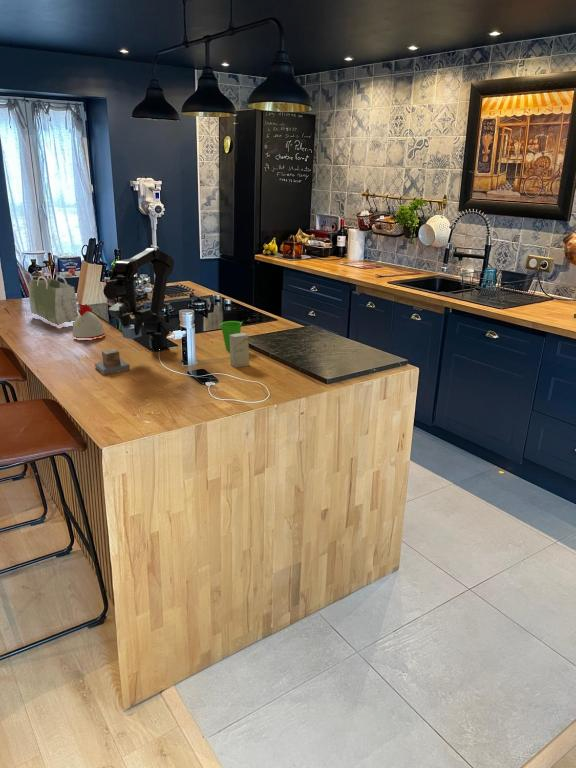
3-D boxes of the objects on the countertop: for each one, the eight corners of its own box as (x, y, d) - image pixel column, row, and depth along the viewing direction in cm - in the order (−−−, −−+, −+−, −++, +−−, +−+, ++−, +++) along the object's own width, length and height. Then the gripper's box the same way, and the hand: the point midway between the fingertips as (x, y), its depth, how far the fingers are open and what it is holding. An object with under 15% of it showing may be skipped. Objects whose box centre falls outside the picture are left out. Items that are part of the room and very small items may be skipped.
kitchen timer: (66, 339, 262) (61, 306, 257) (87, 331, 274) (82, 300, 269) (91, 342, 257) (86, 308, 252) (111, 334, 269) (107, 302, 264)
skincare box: (234, 368, 220) (233, 337, 216) (230, 364, 224) (228, 334, 220) (249, 365, 223) (248, 334, 219) (245, 362, 227) (243, 332, 222)
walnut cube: (116, 361, 224) (114, 348, 223) (120, 364, 221) (119, 351, 219) (103, 363, 222) (101, 351, 220) (107, 366, 218) (105, 354, 216)
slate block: (132, 334, 231) (131, 324, 230) (141, 336, 229) (140, 326, 227) (123, 337, 227) (121, 327, 226) (132, 339, 225) (130, 328, 223)
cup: (247, 347, 245) (246, 322, 241) (236, 353, 238) (235, 327, 234) (228, 345, 249) (227, 320, 245) (217, 351, 241) (215, 325, 237)
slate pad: (120, 363, 228) (120, 358, 228) (129, 369, 221) (129, 364, 220) (95, 368, 223) (94, 363, 222) (103, 375, 215) (103, 369, 215)
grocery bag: (85, 323, 289) (78, 276, 281) (58, 329, 280) (50, 281, 272) (57, 313, 310) (50, 270, 302) (31, 318, 301) (23, 273, 293)
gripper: (94, 296, 220) (99, 335, 226) (129, 300, 211) (134, 342, 217) (116, 290, 229) (121, 329, 235) (151, 295, 220) (155, 335, 226)
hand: (132, 334), depth 228 cm, fingers closed on slate block, 5 cm apart
